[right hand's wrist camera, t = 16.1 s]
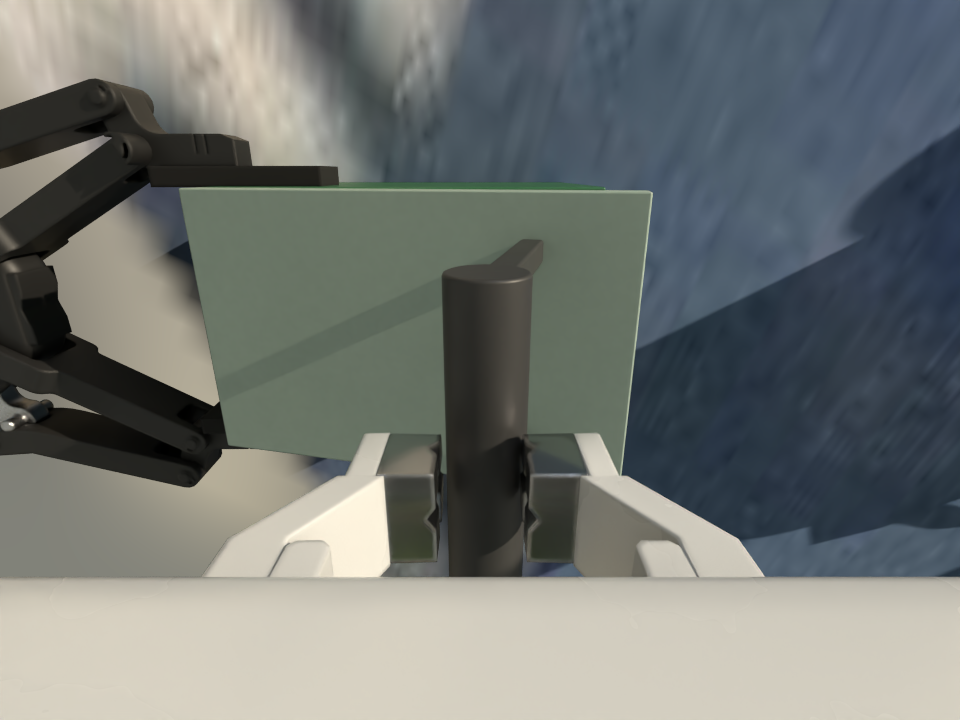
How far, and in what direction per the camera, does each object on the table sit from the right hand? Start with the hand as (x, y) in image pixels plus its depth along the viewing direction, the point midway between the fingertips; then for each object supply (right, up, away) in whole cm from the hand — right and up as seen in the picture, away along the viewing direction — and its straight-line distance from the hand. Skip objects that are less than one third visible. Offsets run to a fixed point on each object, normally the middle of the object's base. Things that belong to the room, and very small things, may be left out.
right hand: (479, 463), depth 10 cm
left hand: (-6, +5, +12) cm, 14 cm away
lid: (-3, +3, +8) cm, 9 cm away
